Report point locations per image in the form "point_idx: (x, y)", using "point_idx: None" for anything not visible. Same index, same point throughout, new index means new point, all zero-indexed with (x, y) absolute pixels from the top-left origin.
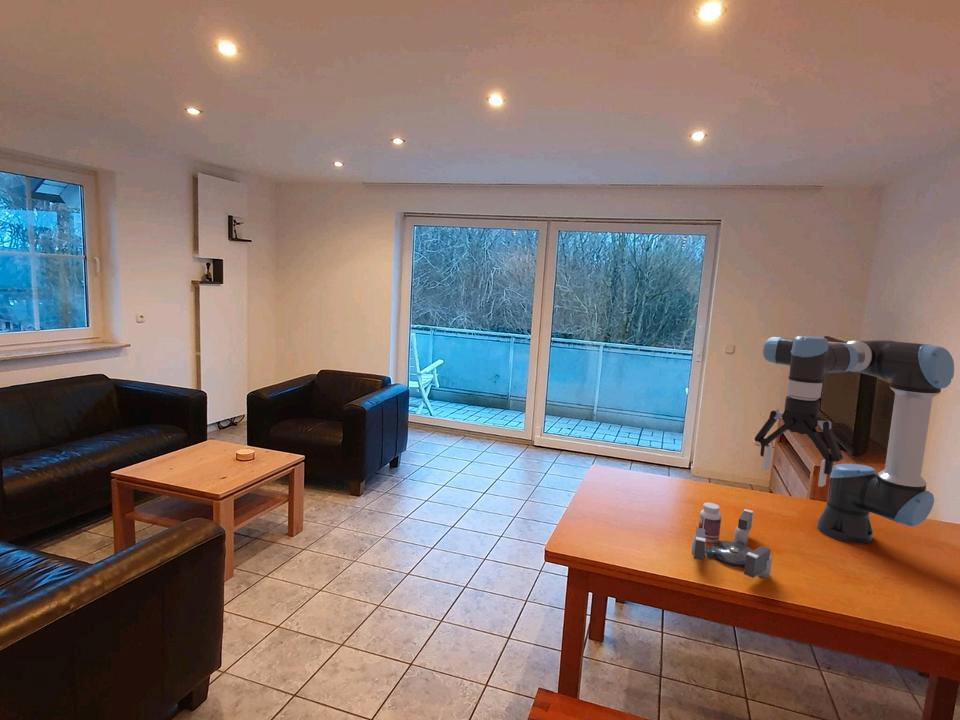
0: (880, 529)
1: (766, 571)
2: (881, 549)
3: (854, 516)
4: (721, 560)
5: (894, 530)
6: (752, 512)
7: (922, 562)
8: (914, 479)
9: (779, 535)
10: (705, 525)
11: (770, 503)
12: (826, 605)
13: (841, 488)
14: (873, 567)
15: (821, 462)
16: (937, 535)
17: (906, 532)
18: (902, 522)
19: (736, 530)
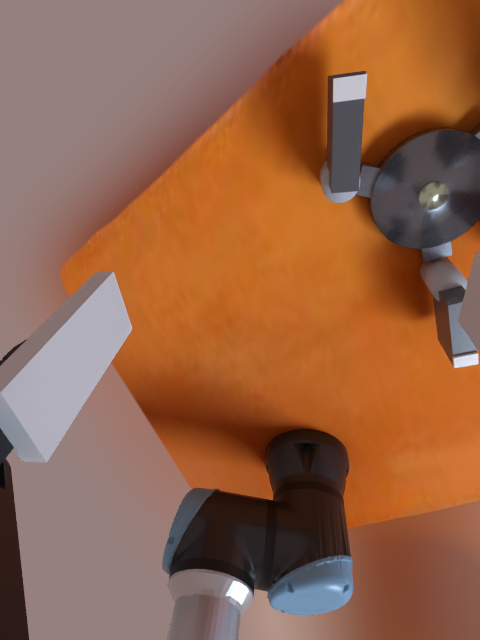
0: None
1: (324, 167)
2: (245, 444)
3: (286, 481)
4: (442, 128)
5: None
6: (453, 360)
7: (196, 445)
8: (177, 594)
9: (382, 373)
10: None
11: (446, 474)
12: (189, 173)
13: (315, 531)
14: (223, 384)
15: (9, 382)
16: None
17: None
18: (202, 489)
19: (460, 274)
